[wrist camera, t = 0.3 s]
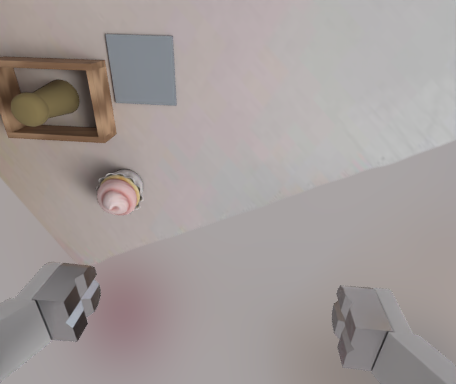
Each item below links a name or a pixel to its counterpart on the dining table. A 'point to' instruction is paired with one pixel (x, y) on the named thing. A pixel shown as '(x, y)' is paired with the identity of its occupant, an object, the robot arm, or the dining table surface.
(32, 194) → the dining table surface
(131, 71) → the felt pad
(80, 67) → the frame
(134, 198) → the cupcake
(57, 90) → the olive piece
